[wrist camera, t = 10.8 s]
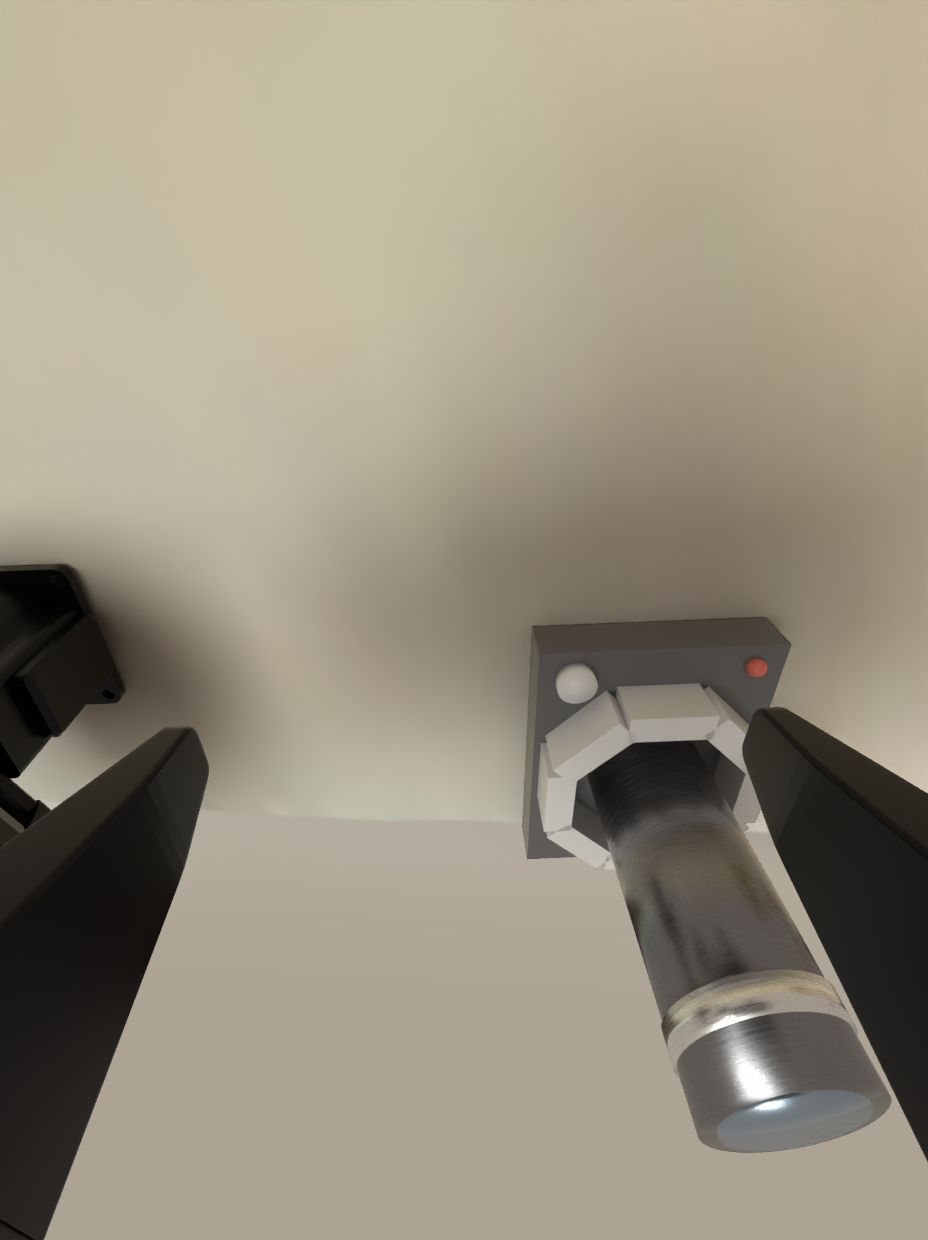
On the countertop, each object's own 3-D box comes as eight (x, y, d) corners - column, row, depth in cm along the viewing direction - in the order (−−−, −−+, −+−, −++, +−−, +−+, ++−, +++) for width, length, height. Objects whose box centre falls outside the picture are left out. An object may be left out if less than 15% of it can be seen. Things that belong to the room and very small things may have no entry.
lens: (563, 786, 26) (656, 1149, 15) (627, 707, 23) (791, 1073, 13) (653, 814, 27) (796, 1164, 17) (722, 743, 25) (942, 1098, 14)
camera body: (522, 826, 30) (532, 895, 27) (532, 626, 24) (547, 686, 20) (703, 818, 31) (736, 886, 27) (766, 617, 24) (820, 675, 20)
